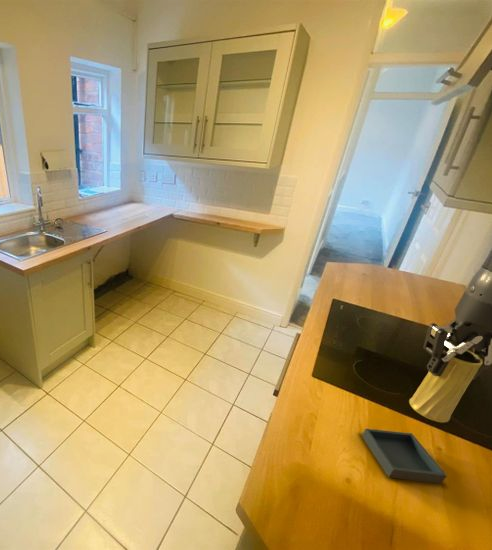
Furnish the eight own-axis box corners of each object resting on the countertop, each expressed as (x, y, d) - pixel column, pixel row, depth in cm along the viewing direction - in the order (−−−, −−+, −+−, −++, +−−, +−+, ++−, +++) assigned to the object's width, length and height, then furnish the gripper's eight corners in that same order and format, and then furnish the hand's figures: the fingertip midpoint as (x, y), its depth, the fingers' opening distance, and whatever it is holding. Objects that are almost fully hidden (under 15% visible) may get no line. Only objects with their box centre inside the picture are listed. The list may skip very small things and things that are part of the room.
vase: (401, 396, 64) (431, 342, 58) (433, 399, 64) (467, 345, 57) (422, 420, 59) (457, 364, 53) (458, 425, 58) (497, 367, 52)
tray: (407, 440, 71) (412, 433, 70) (441, 483, 63) (447, 475, 61) (361, 435, 72) (365, 428, 71) (388, 477, 64) (393, 469, 62)
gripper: (471, 305, 47) (424, 386, 54) (575, 311, 46) (513, 393, 53) (432, 283, 54) (395, 358, 61) (522, 289, 53) (473, 364, 60)
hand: (450, 374), depth 57 cm, fingers closed on vase, 5 cm apart
